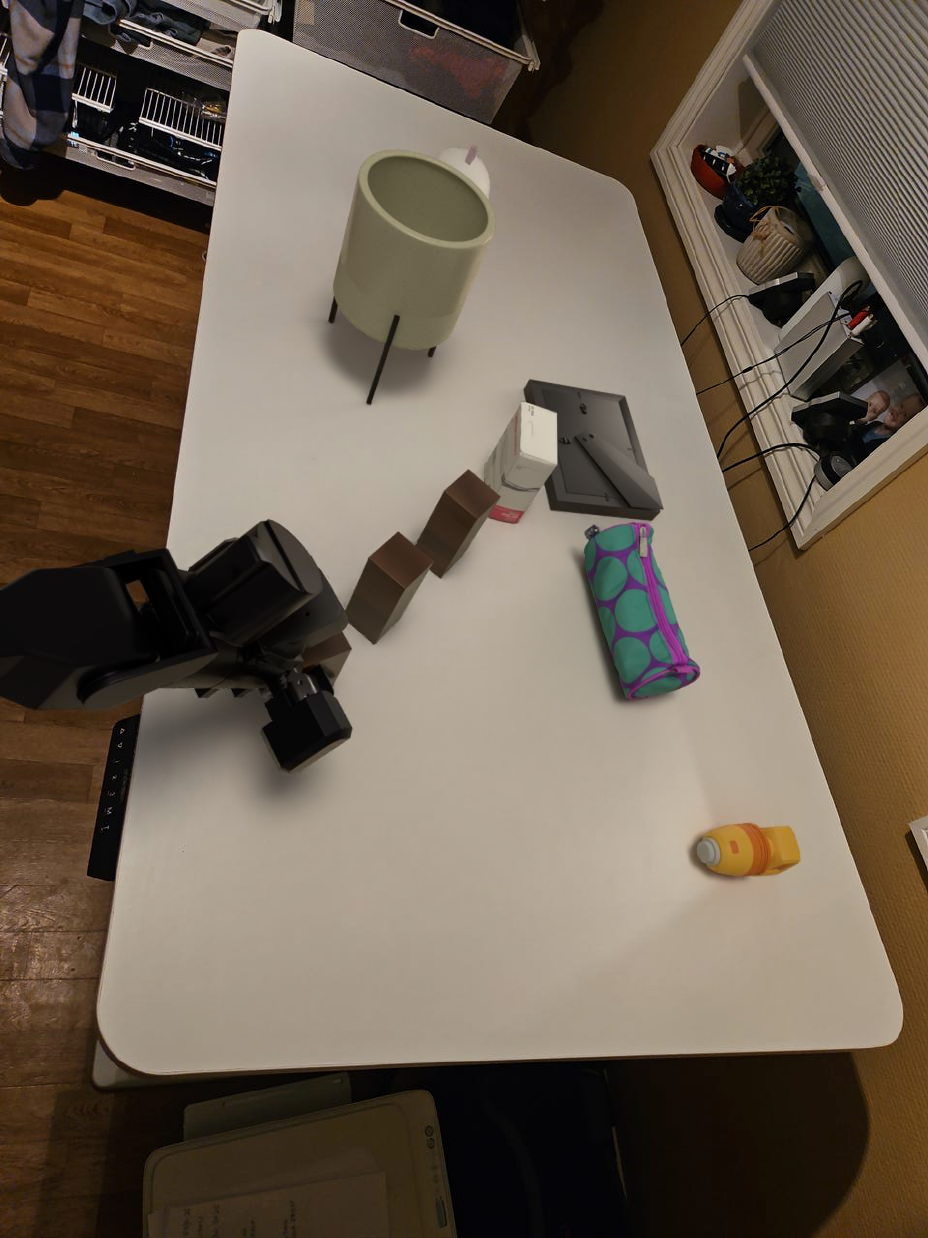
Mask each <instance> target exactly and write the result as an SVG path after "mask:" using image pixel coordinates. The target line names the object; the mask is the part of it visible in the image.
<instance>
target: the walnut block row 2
mask: <svg viewBox="0 0 928 1238" xmlns="http://www.w3.org/2000/svg"><path fill="white" fill-rule="evenodd" d="M500 497H501V496H500V495H499V494H497V493H496V492H495V491H494V490H493V489H492V488H490V487H489V486H488V485H487V484H486V483H484V480H482V479H481V478H480V477H479V476H478V475H476V474H475V473H474V472H473V471H472V470H470V469H467V470H466V471H465V472H463V473H462V474H461V475H459V476H458V477H457V478H456V479H455V480H454V481H453V482H452V483H451V484H450V485H448V486H447V487H446V488H445V489H444V490H443V492H442V493H441V495H440V497H439V499H438V501H437V502H436V504H435V507H434V508H433V511H432V512H431V514H430V517H429V518H428V519H427V522H426V524H425V526H424V528H423V530H422V531H421V533H420V535H419V537H418V539H417V541H416V542H415V544H414V545H415V546H416V547H417V548H419V549H420V550H421V551H422V552H423V553H424V554H426V555H427V556H428V557H429V558H430V559H431V560H433V561H434V562H433V564H432V566H431V567H430V569H429V571H431V572H432V573H433V574H435V576H437V577H438V578H439V579H442V578H443V577H444V576H445V574H447V573H448V572H449V571H450V570H451V569H452V568H453V567H454V566H455V565H456V564H457V563H458V562H459V561H460V560H461V559H462V558H463V557H464V555H465V554H466V552H467V550H468V549H469V547H470V545H471V544H472V542H473V541H474V539H475V538H476V536H477V535H478V533H479V531H480V530H481V529H482V527H483V525H484V523H485V522H486V521H487V519H488V518H489V517H488V516H489V514H490V513H491V511H492V510H493V508H494V507H495V505H496V504H497V502H498V500H499V499H500Z"/></svg>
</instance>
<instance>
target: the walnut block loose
mask: <svg viewBox="0 0 928 1238" xmlns="http://www.w3.org/2000/svg"><path fill="white" fill-rule="evenodd" d="M343 631H344V630H343ZM343 631H342V632H340V633H338V634H336V635H333V636H331V637H329V638H328V639H326V640H324V641H322V642H320V643H318V644H317V645H315V646H313V647H311V648H309V649H307V650H305V651H304V652H303V653H302V654H301V656H302V658H303V660H304V662H302V663H301V664H299V665H298V666H297V667H295V668H296V670H297V672H298V673H304V674H306V673H308V672H309V671H310V670H312V669H313V668H315V667H316V666H317V665H319V664H321V666H322V668H323V670H324V672H328V673H332V674H334V675H335V677H336V679H334V680H333V681H331V682H330V683H331V685H332V687H333V688H334V685H335V683H336V681H337V679H338V677H339V675H340V673H341V672H342V669H343V668H344V665H345V664H346V661H347V659H348V658H349V656H350V653H351V652H352V650H353V648H352V646H351V644H350V642H349V640H348V639H347V637H346V634H345V633H344V632H343ZM286 674H287V673H286ZM270 696H271V698H272V697H273V696H272V694H271V695H270Z"/></svg>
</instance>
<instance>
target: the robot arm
mask: <svg viewBox="0 0 928 1238" xmlns="http://www.w3.org/2000/svg"><path fill="white" fill-rule="evenodd" d="M137 581H139V582H140V585H141V586H142V589H143V591H144V593H145V595H146V598H147V599H148V600H146V601H145V602H143V603H142V604H140V605H138V606H137V604H136V602H135V600H134V598H133V595H132V593H131V592H130V591H131V590H130V589H129V587H128V585H129V584H131V583H134V582H137ZM345 610H346V609H345V608H344V607H343V605H342V602H341V601H340V600H339V597H338V596H337V594H336V592H335V590H334V589H333V586H332V585H331V583H330V582H329V580H328V579H327V577H326V575H325V574H324V572H323V571H322V569H321V568H320V567H319V566H318V564H317V563H316V560H315V559H314V557H313V555H311V554H310V553H309V551H308V550H307V549H306V547H305V546H304V544H303V543H302V542H301V541H300V540H299V539H298V538H297V537H296V536H295V535H294V534H293V533H292V532H291V531H290V530H289V529H288V528H286V527H285V526H283V524H280V522H277V521H276V520H274V519H271V518H267V519H265V520H260V521H259V522H257V523H256V524H255V525H254V526H252V527H251V528H249V530H247V531H245V533H243V534H241V536H240V537H231V538H227V539H224V540H223V541H222V542H220V543H219V544H218V545H216V547H214V548H213V549H212V550H210V551H208V553H206V554H205V555H204V556H202V557H201V558H200V559H199V560H198V561H196V562H195V563H193V564H192V565H191V566H190V567H188V569H187V570H185V569H181V568H178V566H177V564H176V561H175V559H174V557H173V556H172V554H171V551H170V549H169V548H167V547H162V548H157V549H152V550H147V551H142V552H136V550H135V549H134V548H131V549H128V550H125V551H121V552H117V553H115V554H111V555H107V556H105V557H101V558H98V559H94V560H91V561H87V562H85V563H81V564H76V565H71V566H61V567H40V568H33V569H30V570H29V571H27V572H25V573H24V574H22V575H20V576H18V577H16V578H15V579H14V580H12V581H9V582H8V583H7V584H5V585H3V586H1V587H0V697H1V698H2V699H5V700H7V701H10V702H13V703H14V704H17V705H19V706H22V707H24V708H27V709H29V710H31V711H57V710H59V711H61V710H63V711H64V710H82V709H83V710H86V711H88V712H101V711H107V710H110V709H115V708H117V707H119V706H122V705H124V704H127V703H129V702H132V701H134V700H136V699H138V698H141V697H143V696H145V695H147V694H150V693H152V692H154V691H157V690H160V689H193V690H194V692H195V694H196V696H197V699H209V698H211V696H213V695H215V693H217V692H218V691H220V690H223V689H226V690H227V689H229V690H230V691H231V693H232V695H233V698H234V699H235V698H236V699H237V698H239V699H241V698H245V697H246V696H247V695H248V694H250V693H252V692H253V691H254V690H255V689H257V690H258V692H259V694H260V696H261V697H262V698H264V699H265V698H266V699H267V698H269V697H270V696H271V694H272V696H273V697H272V696H271V698H269V699H268V700H266V701H265V702H263V706H264V708H265V710H266V712H267V714H268V716H269V718H270V721H269V722H268V723H266V724H265V725H263V726H262V727H261V728H260V731H259V734H260V737H261V738H262V741H263V743H264V745H265V747H266V749H267V751H268V753H269V755H270V757H271V759H272V761H273V764H274V766H275V767H276V769H277V771H278V772H280V773H282V774H283V773H284V774H287V775H290V774H296V773H300V772H302V771H304V770H305V769H307V768H309V767H310V766H311V765H313V764H314V763H316V762H317V761H318V760H320V759H321V758H323V757H325V756H326V755H328V754H330V752H332V751H333V750H335V749H336V748H338V747H340V746H342V744H344V743H346V742H347V741H348V740H350V739H351V738H352V733H353V729H354V728H353V726H352V724H351V722H350V720H349V719H348V717H347V715H346V713H345V710H344V709H343V707H342V705H341V703H340V701H339V699H338V698H337V697H336V696H335V688H334V686H333V687H332V685H331V683H330V682H331V681H333V680H334V679H336V677H335V675H334V674H332V673H328V672H324V670H323V668H322V666H321V664H319V665H317V666H316V667H315V668H313V669H312V670H310V671H309V672H308V673H306V674H304V673H298V672H297V670H296V668H295V667H297V666H298V665H299V664H301V663H302V662H304V660H303V658H302V656H301V654H302V653H303V652H304V651H305V650H307V649H309V648H311V647H313V646H315V645H317V644H318V643H320V642H322V641H324V640H326V639H328V638H329V637H331V636H333V635H336V634H338V633H340V632H342V631H345V629H346V628H347V627H348V625H349V622H348V616H347V614H346V612H345ZM286 673H287V674H286ZM336 680H337V679H336Z"/></svg>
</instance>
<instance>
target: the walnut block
mask: <svg viewBox="0 0 928 1238" xmlns="http://www.w3.org/2000/svg"><path fill="white" fill-rule="evenodd" d="M415 545H416V544H414V543H413V542H412V541H411V540H409V539H408V538H407V537H406V536H405V535H403V533H401V532H400V531H399V530H398V531H396V532H395V533H394V534H393V535H392V536H391V537H390V538H389V539H387V540H386V541H385V542H384V543H383V544H382V545H381V546H380V547H379V548H377V549H376V550H375V551H373V553H372V554H371V555H369V556H368V557H367V560H366V562H365V564H364V567H363V569H362V571H361V573H360V576H359V578H358V580H357V582H356V585H355V587H354V590H353V592H352V594H351V596H350V599H349V601H348V603H347V605H346V608H345V609H344V610H345V612H346V614H347V616H348V624H350V625H351V626H352V627H353V628H355V630H357V631H358V632H359V633H360V634H361V635H362V636H364V637H365V638H366V639H367V641H369V642H370V643H372V644H373V645H376V644H377V643H378V642H379V641H380V640H381V639H382V638H383V637H384V636H385V635H386V634H388V632H389V631H390V630H391V629H392V628H393V627H394V626H395V625H396V624H397V623H398V622H399V621H400V620H401V618H402V617H403V615H404V613H405V612H406V610H407V608H408V607H409V605H410V603H411V601H412V600H413V597H414V596H415V595H416V593H417V591H418V589H419V588H420V586H421V585H422V583H423V581H424V579H425V578H426V576H427V575H428V573H429V571H430V567H431V566H432V564H433V562H434V561H433V560H431V559H430V558H429V557H428V556H427V555H426V554H424V553H423V552H422V551H421V550H420V549H419V548H417V547H416V546H415Z"/></svg>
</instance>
